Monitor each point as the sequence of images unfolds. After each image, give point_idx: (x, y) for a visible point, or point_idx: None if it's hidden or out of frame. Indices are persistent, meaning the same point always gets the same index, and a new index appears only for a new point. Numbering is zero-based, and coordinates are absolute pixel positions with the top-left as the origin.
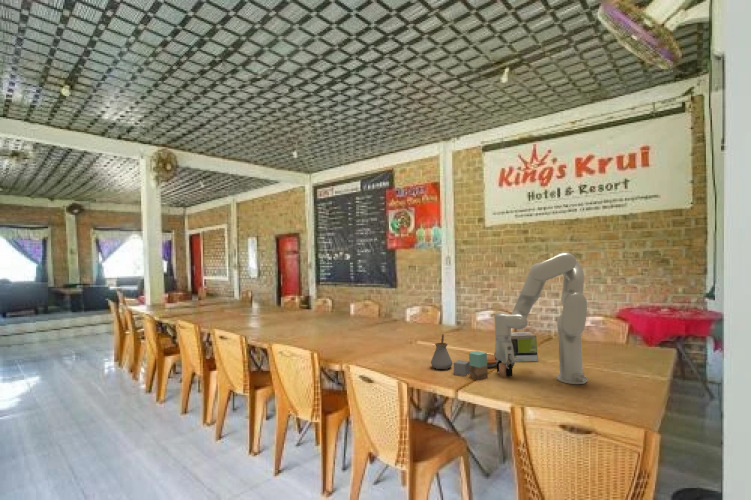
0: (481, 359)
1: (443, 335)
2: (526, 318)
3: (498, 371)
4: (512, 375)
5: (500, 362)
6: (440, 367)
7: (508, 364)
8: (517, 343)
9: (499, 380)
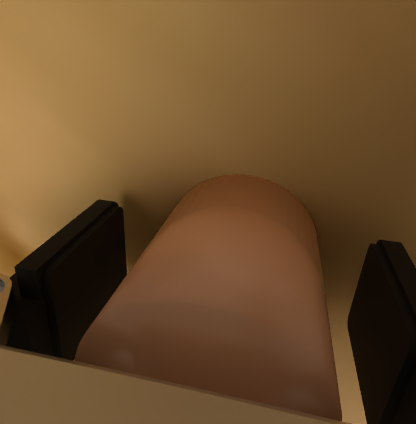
0: None
1: None
2: None
3: (124, 275)
4: (399, 244)
5: (23, 333)
6: None
7: (309, 382)
8: None
9: (356, 401)
